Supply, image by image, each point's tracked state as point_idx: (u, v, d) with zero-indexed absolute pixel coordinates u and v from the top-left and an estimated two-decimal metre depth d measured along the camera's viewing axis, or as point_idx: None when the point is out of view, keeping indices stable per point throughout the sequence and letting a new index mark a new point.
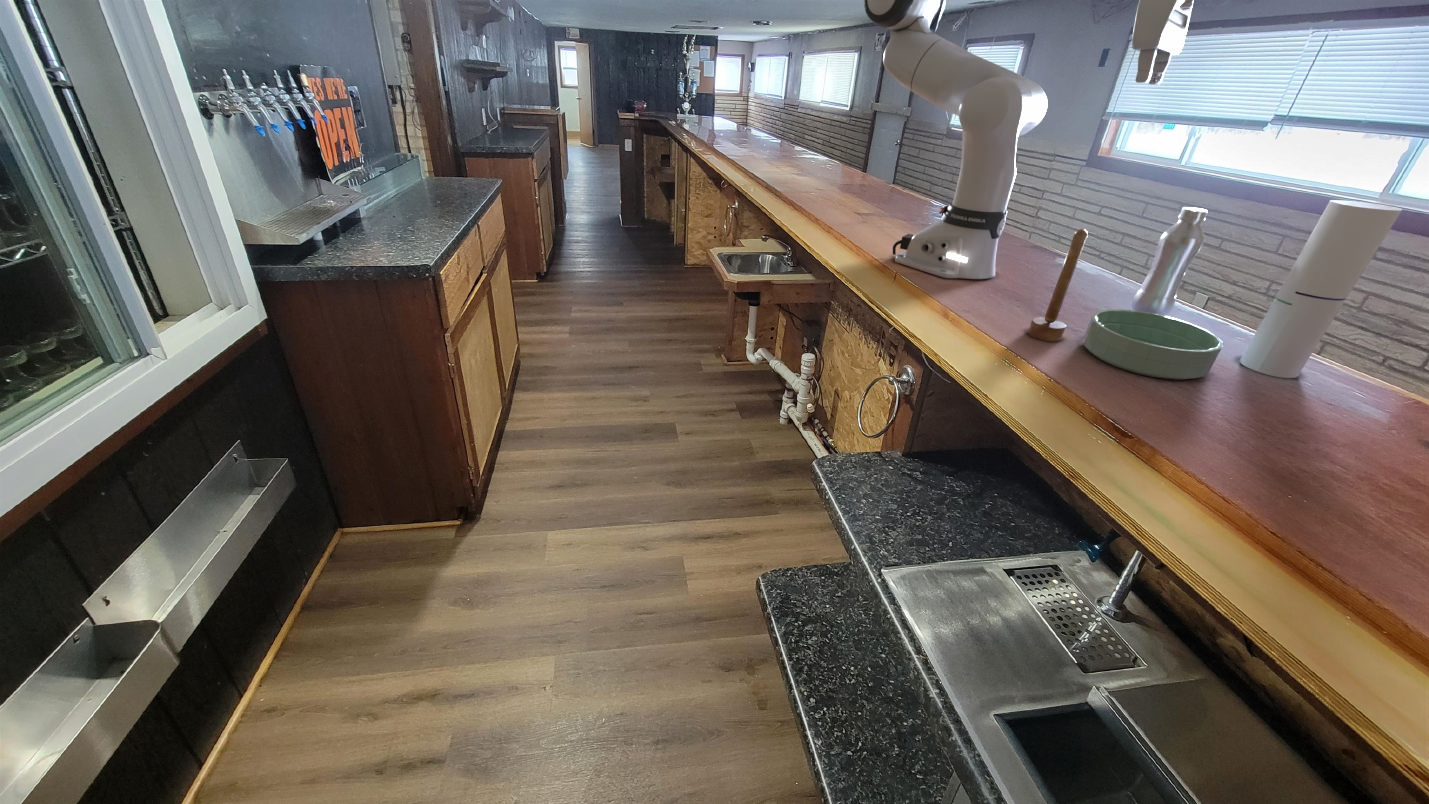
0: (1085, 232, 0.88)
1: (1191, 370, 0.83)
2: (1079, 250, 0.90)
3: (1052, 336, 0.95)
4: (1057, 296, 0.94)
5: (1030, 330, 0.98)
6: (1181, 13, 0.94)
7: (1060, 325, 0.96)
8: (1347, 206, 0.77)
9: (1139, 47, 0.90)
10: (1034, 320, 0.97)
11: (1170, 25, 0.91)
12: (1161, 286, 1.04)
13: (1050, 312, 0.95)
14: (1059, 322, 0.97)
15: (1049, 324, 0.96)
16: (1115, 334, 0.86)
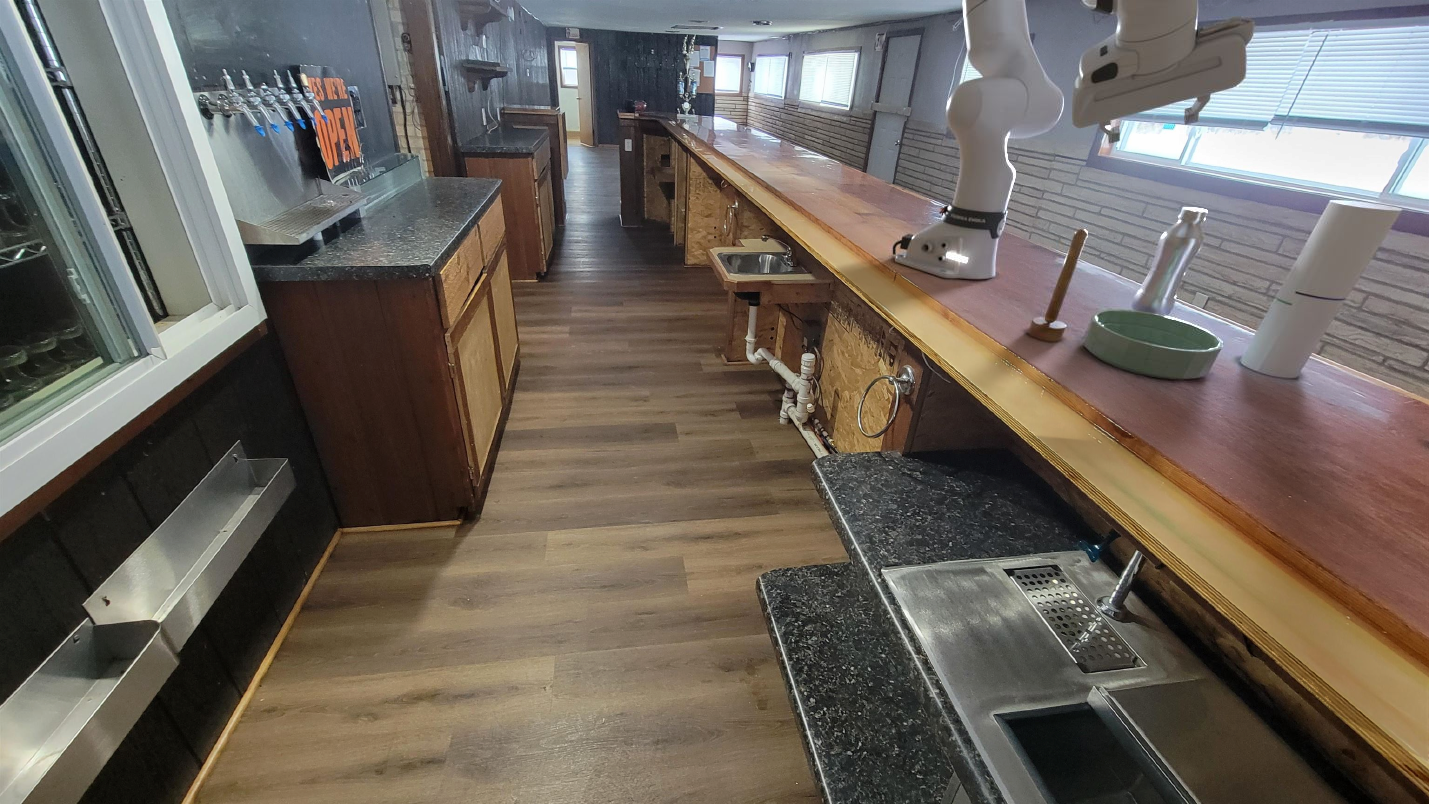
0: (1085, 232, 0.88)
1: (1191, 370, 0.83)
2: (1079, 250, 0.90)
3: (1052, 336, 0.95)
4: (1057, 296, 0.94)
5: (1030, 330, 0.98)
6: (1175, 68, 0.78)
7: (1060, 325, 0.96)
8: (1347, 206, 0.77)
9: None
10: (1034, 320, 0.97)
11: (1117, 99, 0.84)
12: (1161, 286, 1.04)
13: (1050, 312, 0.95)
14: (1059, 322, 0.97)
15: (1049, 324, 0.96)
16: (1115, 334, 0.86)
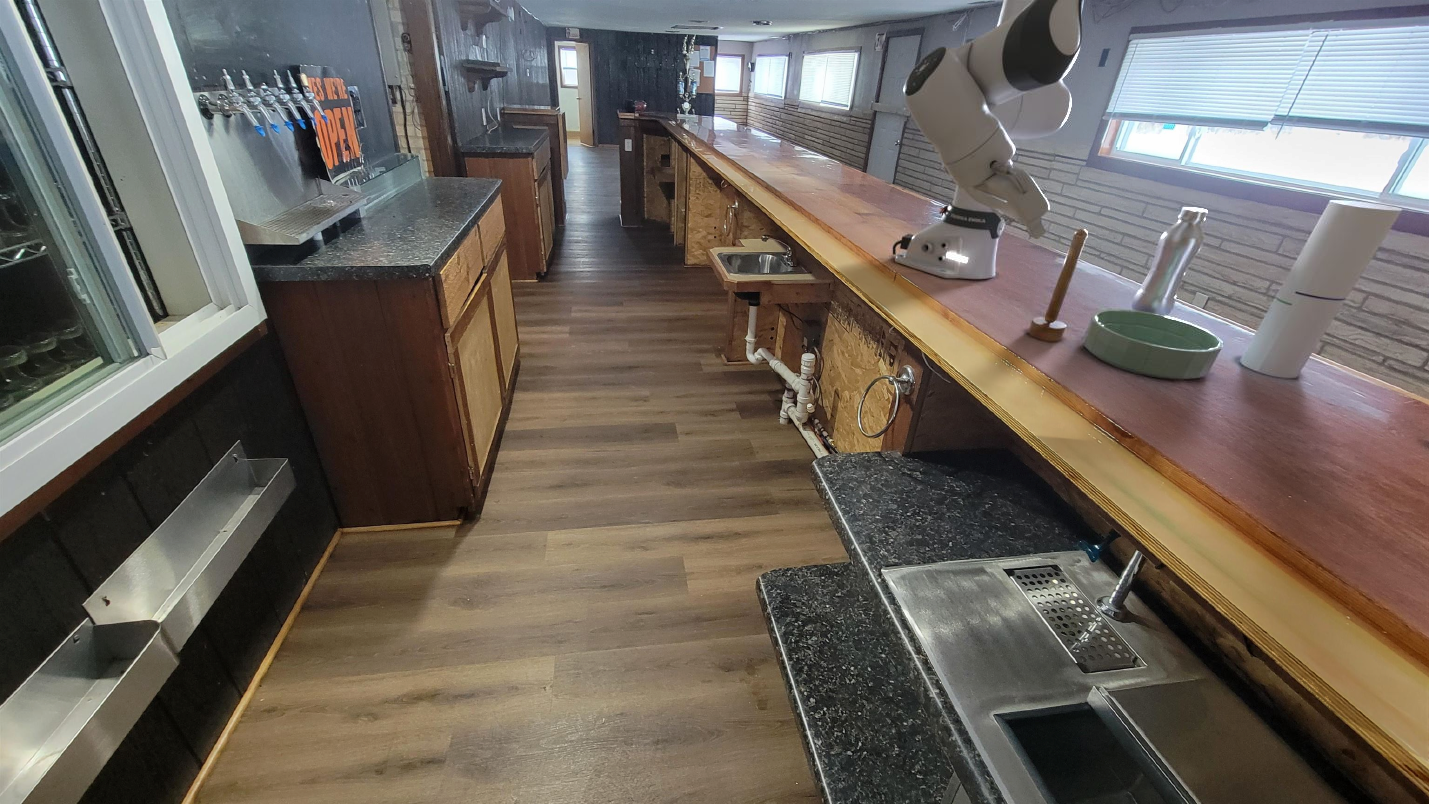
0: (1085, 232, 0.88)
1: (1191, 370, 0.83)
2: (1079, 250, 0.90)
3: (1052, 336, 0.95)
4: (1057, 296, 0.94)
5: (1030, 330, 0.98)
6: (989, 187, 0.84)
7: (1060, 325, 0.96)
8: (1347, 206, 0.77)
9: None
10: (1034, 320, 0.97)
11: (977, 192, 0.90)
12: (1161, 286, 1.04)
13: (1050, 312, 0.95)
14: (1059, 322, 0.97)
15: (1049, 324, 0.96)
16: (1115, 334, 0.86)
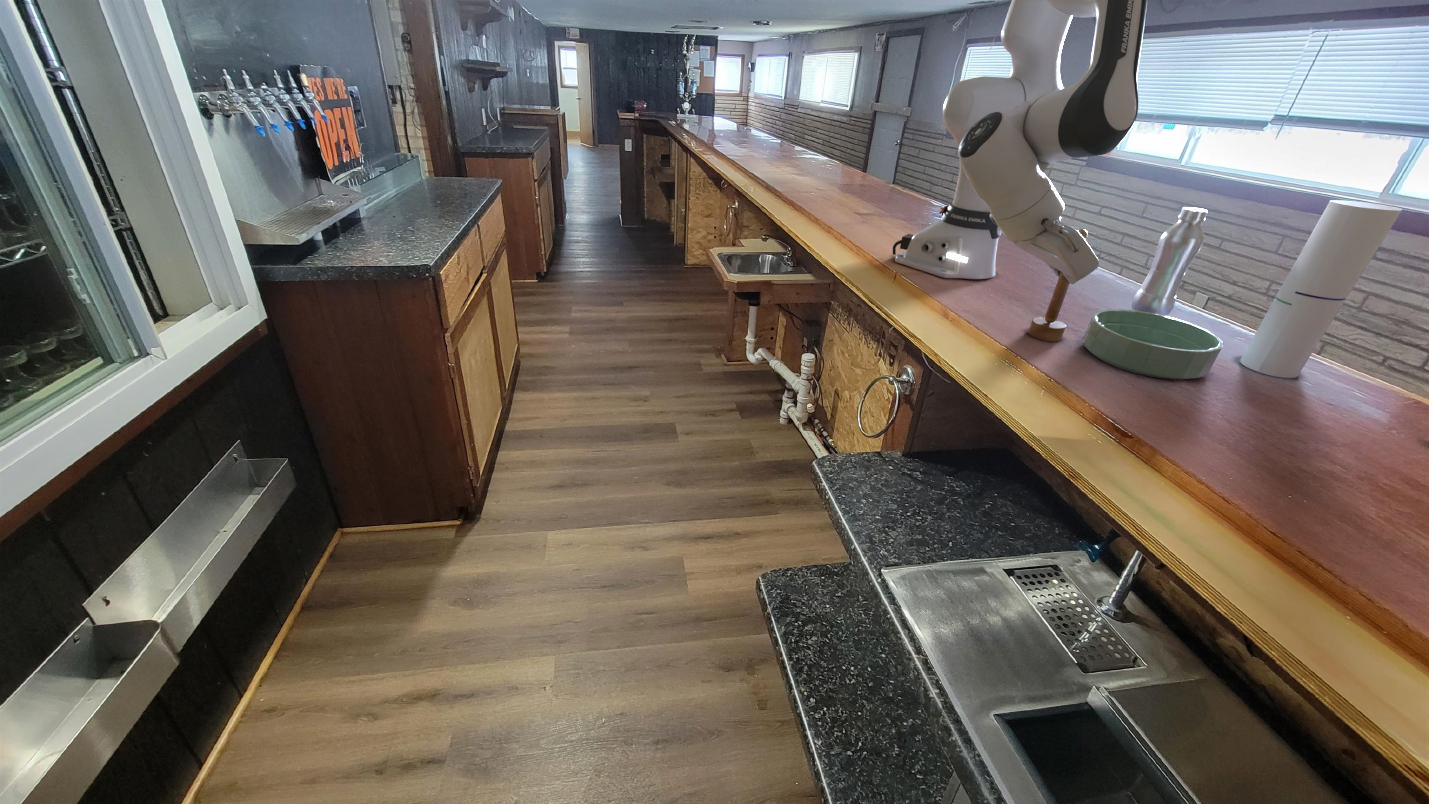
0: (1086, 232, 0.88)
1: (1191, 370, 0.83)
2: None
3: (1052, 336, 0.95)
4: (1057, 296, 0.94)
5: (1030, 330, 0.98)
6: (1038, 241, 0.88)
7: (1060, 325, 0.96)
8: (1347, 206, 0.77)
9: None
10: (1034, 320, 0.97)
11: None
12: (1161, 286, 1.04)
13: (1050, 312, 0.95)
14: (1059, 322, 0.97)
15: (1049, 324, 0.96)
16: (1115, 334, 0.86)
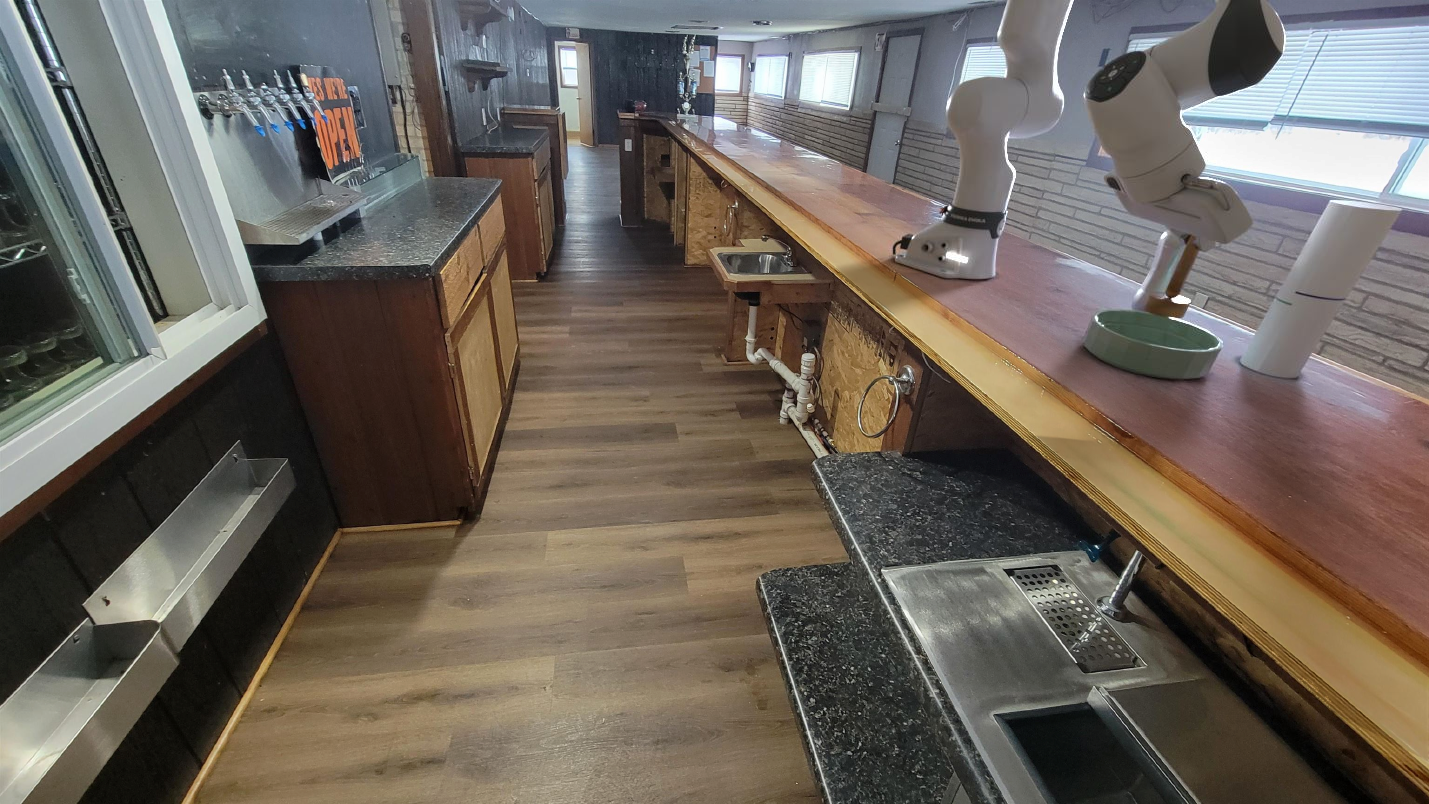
0: None
1: (1191, 370, 0.83)
2: None
3: (1175, 312, 0.85)
4: (1183, 267, 0.83)
5: (1147, 306, 0.87)
6: None
7: (1184, 300, 0.85)
8: (1347, 206, 0.77)
9: None
10: (1152, 295, 0.87)
11: (1144, 206, 0.84)
12: (1161, 286, 1.04)
13: (1173, 285, 0.85)
14: (1181, 297, 0.86)
15: (1172, 299, 0.85)
16: (1115, 334, 0.86)
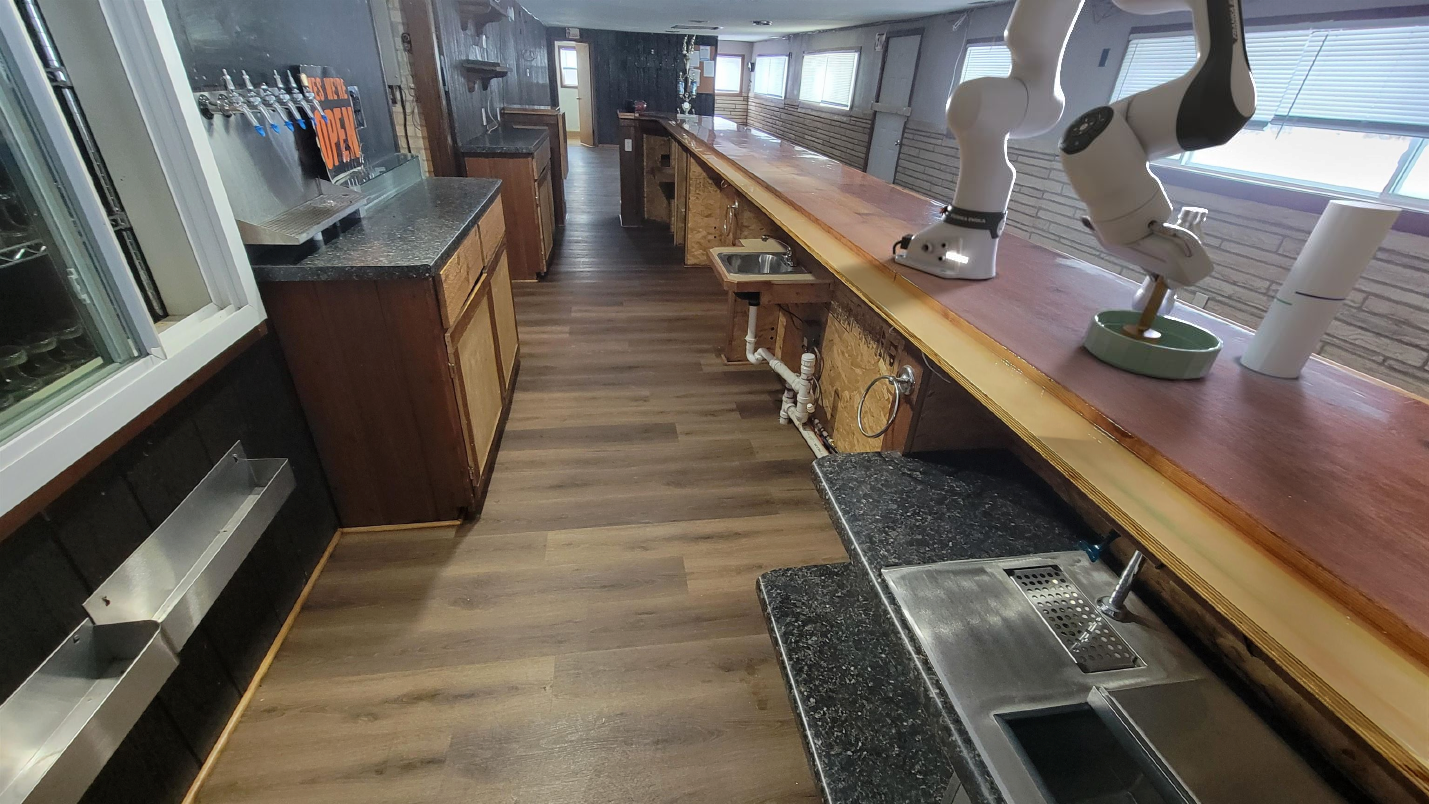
0: None
1: (1191, 370, 0.83)
2: None
3: None
4: (1153, 303, 0.88)
5: None
6: (1140, 245, 0.82)
7: (1154, 334, 0.90)
8: (1347, 206, 0.77)
9: None
10: (1125, 328, 0.92)
11: (1117, 245, 0.88)
12: None
13: (1144, 320, 0.89)
14: (1152, 330, 0.91)
15: (1143, 333, 0.90)
16: (1115, 334, 0.86)
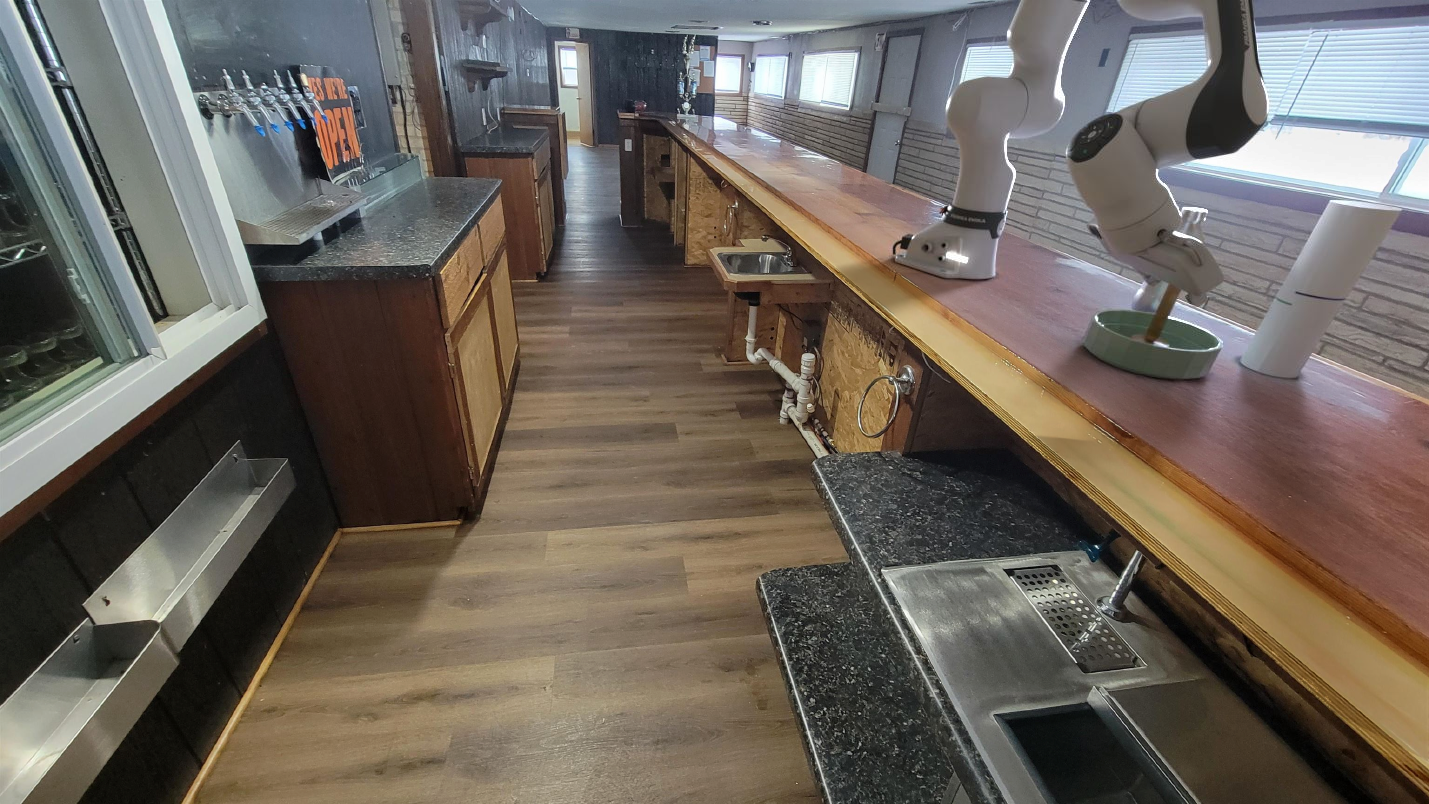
0: None
1: (1191, 370, 0.83)
2: None
3: None
4: (1162, 312, 0.87)
5: None
6: None
7: (1163, 343, 0.89)
8: (1347, 206, 0.77)
9: None
10: (1133, 338, 0.90)
11: (1125, 253, 0.87)
12: (1161, 286, 1.04)
13: (1153, 329, 0.88)
14: (1161, 340, 0.90)
15: (1151, 343, 0.89)
16: (1115, 334, 0.86)
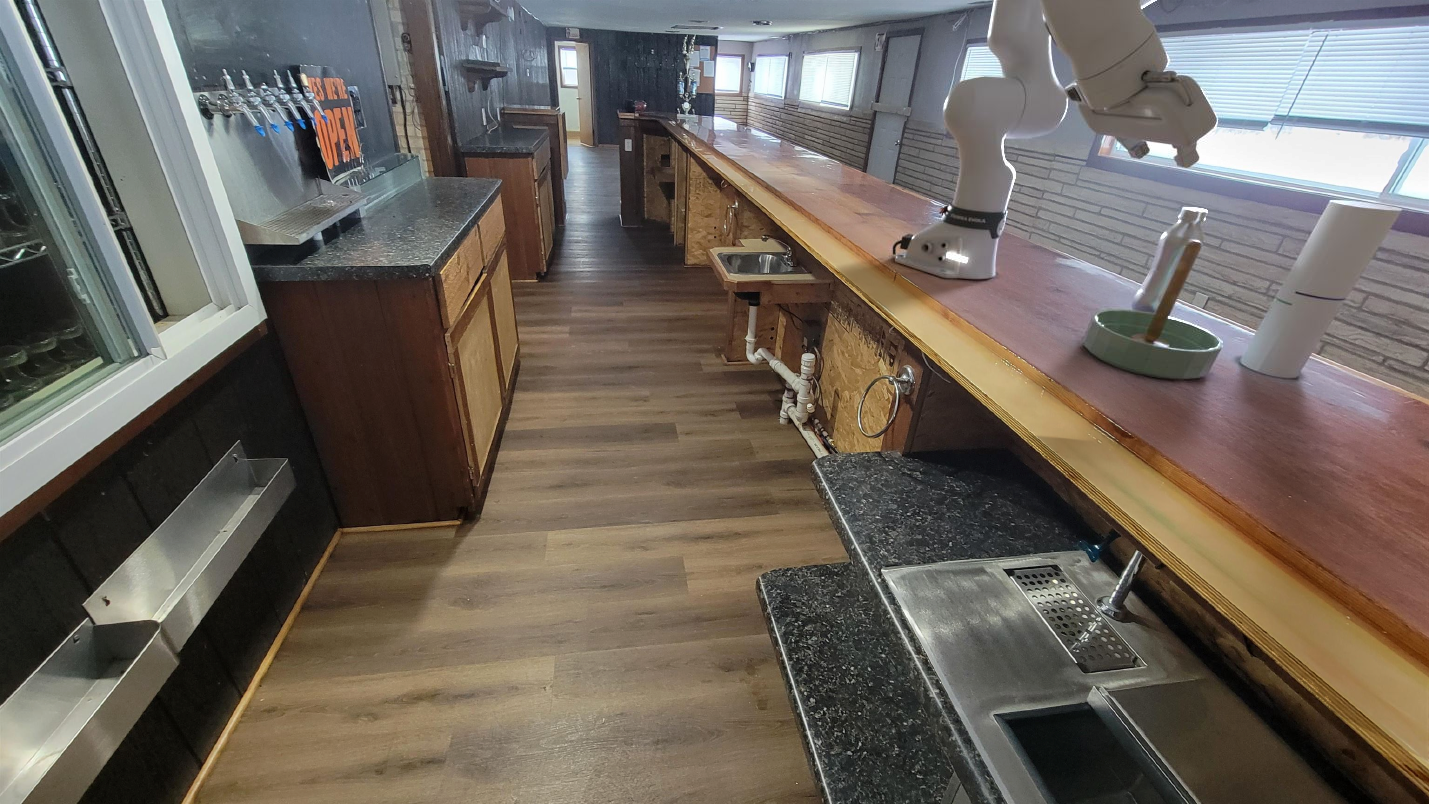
0: (1200, 244, 0.82)
1: (1191, 370, 0.83)
2: (1191, 264, 0.83)
3: None
4: (1162, 312, 0.87)
5: None
6: None
7: (1163, 343, 0.89)
8: (1347, 206, 0.77)
9: None
10: (1133, 338, 0.90)
11: (1107, 119, 0.78)
12: (1161, 286, 1.04)
13: (1153, 329, 0.88)
14: (1161, 340, 0.90)
15: (1151, 343, 0.89)
16: (1115, 334, 0.86)
